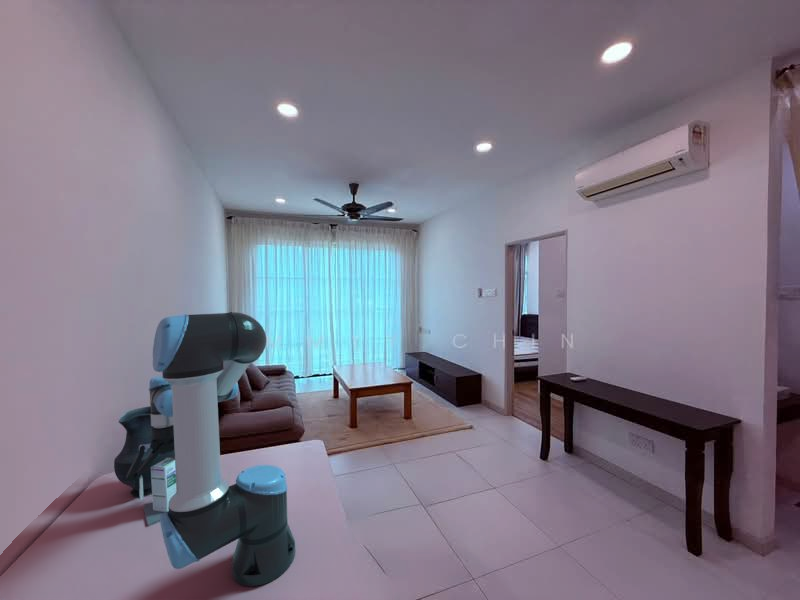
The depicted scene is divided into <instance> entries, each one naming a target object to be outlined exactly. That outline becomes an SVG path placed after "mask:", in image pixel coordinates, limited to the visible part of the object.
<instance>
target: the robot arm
mask: <svg viewBox="0 0 800 600" xmlns="http://www.w3.org/2000/svg"><path fill="white" fill-rule="evenodd" d="M266 346H267V335H266V332H265V329H264V328H263V326H262V325H261V323H260V322H259V321H258V320H256V319H255V317H253V316H250V315H249V314H245V313H243V312H236V311H235V312H233V311H232V312H220V313H219V312H217V313H201V314H199V313H197V314H187V313H186V314H185V313H184V314H181V315H173V316H166V317H164V318H163V319H161V320H160V321H159V323H158V325H157V327H156V330H155V335H154V338H153V347H152V367H153V370H154V372H159V373H162V374H161V375H158V376H155V377H152V378H151V379H149V386H148V387H149V388H148V391H149V404H150V407H151V426H153V427H152V428H151V438H152V440H151V443H150V444H145V445H144V444H140V445H139V451H138V453H137V455H136V457H135V459H134V461H133V463H132V465H131V467H130V469H129V471H128V473H127V475H126V478H127V480H134V487H135V490H138V489H139V496H140V497H139V500H140V501H142V500H144V497H145V496H143V478H142V474H143V473H144V472H145V470H146V469H147V468H148V466H149V465H150V464H151V463H152V461H153V460H154V459H155V458H156V457H157V456H158V454H161V455H162V454H165V453H167V452H172V451H173V450H175V469H176V491H177V492H176V493H175V494H174V495H173V496H172V498H171V499H170V500H169V503H168V507H169V511H167V512H165V513H164V514H162V515H161V516H160V522H159V523H160V529H161V533H162V538H163V541H164V545H165V549H166V552H167V556H168V559H169V562H170V565H171V566H172V568H174V569H176V570H180V569H184V568H185V567H187V566H190V565H191V564H193V563H195V562H196V563H198V562H199V561H200V560H202V559H203V558H206V557H207V556H209V555H210V554H212V553H214V552H216V551H218V550H220V549H222V548H224V547H226V546H227V545H229V544H231V543H233V542H235V541H237V543H236V545H235V546H236V547H235V549H234V553H233V556H232V561H231V576H232V578H233V581H235V583H237V584H238V585H240V586H242V587H248V586H253V587H259V586H263V585H266V584H268V583H270V582H272V581H274V580H276V579H277V578H279V577H280V576H282V575H283V574H284V573H285V572H286V571H287V570H288V569H289V568H290V567H291V565H292V563H293V561H294V559H295V556H296V542H295V541H296V540H295V537H294V535H293V532H292V530H291V528H290V526H289V523H288V492H287V491H288V484H287V477H286V473H285V471H284V470H283V469H282V468H281V467H279V466H275V465H270V464H268V465H267V464H261V465H255V466H254V465H253V466H251V467H248V468H246V469H243V470H242V471H241V472H240V473H238V475H237V476H236V479H235V483H234V484H232V485H229V482H228V481H227V480H225V479H223V478H222V467H221V451H220V447H221V446H220V427H219V426H220V425H219V407H218V406H219V405H218V403H221V402H226V401H229V400H231V399H234V398H236V397H238V392H239V384H238V381H239V380H240V379H241V377H242V376H243V375H244V374H245V372H246V370H247V369H248V367H250V365H251V364H252V363H254V362H256V361H257V360H259V358H260V357H261V356H262V354H263V353H264V351H265V350H266V349H265V348H266ZM148 448H151V449H153V451H152V452H151V453H150V455H149V456H148V458H147V459H146V460H145V461H144V463H143V464H142V465H141V467H140V468H139V469H138V470H137V472H136V473H135V471H136V469H137V467H138V465H139V463H140V461H141V459H142V457H143V455H144V452H146V451H147V450H148ZM134 473H135V474H134ZM258 585H259V586H258Z"/></svg>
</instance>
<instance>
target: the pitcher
mask: <svg viewBox="0 0 800 600" xmlns="http://www.w3.org/2000/svg"><path fill="white" fill-rule="evenodd" d="M118 423H119V424H120V425H121V426H123V428H124V430H125V431H126V433H125V442H124V445H123V446H122V449H121V451H120V452H119V454H117V455H116V456H115V458H114V463H113V466H114V467H113V468H114V470H113V471H114V474H115V477H116V478H117V479H118V480H119V482H120V483H122V484H123V485H125V486H128V487H129V488H131V489H132V490H131V491H130V495H131V496H132V497H134V498H140V496H139V489H138V490H135V487H134V480H127V478H126V475H127V473H128V471H129V469H130V467H131V465H132V463H133V461H134V459H135V457H136V455H137V453H138V451H139V445H140V444H144V445H145V444H150V443H151V440H152V438H151V428H152V427H153V426H151V407H150V406H145V407H139V408H135V409H130V410H128V411H125V413H124V414H123V415H122V416H120V418H119V419H118ZM152 451H153V449H151V448H148V450H147V451H146V452H144V455H143V457H142V459H141V461H140V463H139V465H138V467H137V469H136V471H135V473H136V472H137V470H138V469H139V468H140V467H141V465H142V464H143V463H144V461H145V460H146V459H147V458H148V456H149V455H150V453H151V452H152ZM166 458H175V450H173V451H172V452H167V453H165V454H162V455H161V454H158V456H157V457H156V458H155V459H154V460H153V461H152V463H151V464H150V465H149V466H148V468H147V469H146V470H145V472H144V473H143V474H142V478H143V497H145V496H149V495H152V494H151V493H152V483H151V467H152V466H154V465H156V464H157V463H159V462H161V461H163V460H165V459H166ZM135 473H134V474H135ZM148 494H149V495H148Z"/></svg>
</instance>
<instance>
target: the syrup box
mask: <svg viewBox="0 0 800 600" xmlns="http://www.w3.org/2000/svg"><path fill="white" fill-rule="evenodd" d="M151 483H152V494H151V497H152V500H151V501H152V502H153V510H155V511H160V512H167V511H169V507H168V503H169V500H170V499H171V498H172V496H173V495H174V494H175V493H176V492H177V491H176V469H175V458H166V459H165V460H163V461H161V462H159V463H157V464H156V465H154V466H152V467H151Z"/></svg>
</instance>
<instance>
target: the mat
mask: <svg viewBox="0 0 800 600" xmlns="http://www.w3.org/2000/svg"><path fill="white" fill-rule="evenodd" d="M142 508H143V512H144V516H145V521H146V524H147V526H148V527H149V526H152V525H154V524H157V523H160V516H161V515H162V514H164V513H165V512H160V511H155V510H153V501H152V502H149V503H147V504H145V505H143V507H142Z"/></svg>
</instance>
